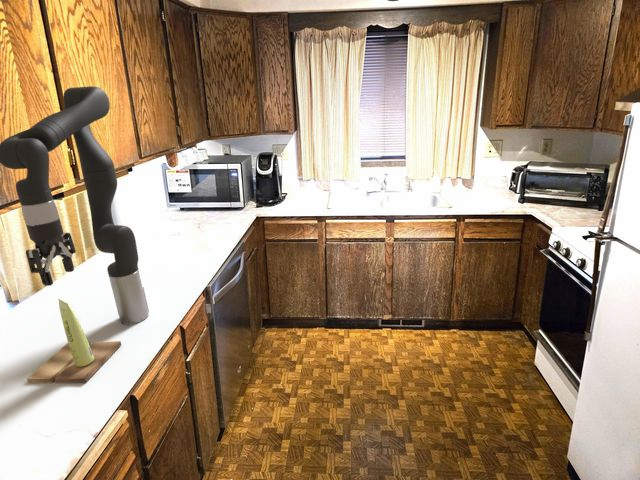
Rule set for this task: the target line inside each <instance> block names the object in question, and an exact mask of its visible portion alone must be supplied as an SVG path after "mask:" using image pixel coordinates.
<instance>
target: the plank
mask: <svg viewBox="0 0 640 480" xmlns="http://www.w3.org/2000/svg"><path fill="white" fill-rule="evenodd" d="M90 344H91V345H90V348H91V351H92V353H93V356H94V360H93V361H92V362H91V363H90V364H88V365H86V366H82V367H77V366H76V365H75V362H74V361H73V362H72V363H71V364H70V365H69V366H68V367H67V368H66V369H65V370H64V371H63V372H61V373H60V374H59V375H58V376H57V377H56V378H55V382H54V383H57V384H58V383H59V384H60V383H87V382H88V381H89V380H90V379H91V378H92V376H94V375H95V374H96V372H98V370H99V369H100V368H101V367H102V366H103V365H104V364H105V363H106V362H107V361H108V360H109V358H111V356H113V354H114V353H115V352H116V351H117V350H118V349H119V348H120V347H121V346H122V341H120V340H119V341H117V340H116V341H114V340H113V341H93V342H92V343H90Z"/></svg>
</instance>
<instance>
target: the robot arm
mask: <svg viewBox="0 0 640 480" xmlns="http://www.w3.org/2000/svg"><path fill="white" fill-rule="evenodd" d="M62 99H63V106H64V107H63V108H64V109H62V110H61V111H57V112H54V113H52V114H50V115H47V116H46V117H44V118H42V119H40V120H39V121H38V122H37V123H35V124H34V125H32V126H31V127H30V128H28V129H26V130H23V131H20V132H18V133H16V134H13V135H11V136H9V137H7V138H5V139H4V140H3V141H1V142H0V164H1V165H2V166H3V167H5V168H7V169H10V170H22V169H23V170H25V169H26V178H22V179H19V180H18V181H17V182H16V183H15V190H16V193H17V197H18V201H19V204H20V207H21V213H22V217H23V220H24V224H25V228H26V230H27V233H28V234H27V235H28V237H29V240H31V241H32V242H33V243H34V248H33V249H26V251H25V255H26V259H27V262H28V263H27V264H28V266H29V270H30V273H31V274H39V276H40V280H41V283H42V284H43V285H44V286H46V287H47V286H52V285H53V284H54V281H53V278H52V275H51V271H50V266H51V264H52V263H53V259H55V258H56V257H57V256H59V258H61V261H62V265H63V268H64V271H65V272H66V273H71V272H72V273H73V271H75V266H74V262H73V260H72V259H73V254H76V252H77V250H76V247H75V245H74V241H73V238H72V235H71V233H70V232H64V229H63V225H62V222H61V218H60V214H59V212H58V211H59V210H58V207H57V205H56V203H55V200H54V198H53V194H52V189H51V187H50V153H49V152H52V151H54V150H55V149H57V148H58V147H59V146H60V145H61V144H63V143H64V142H65V141H66V140H67V139H69V137H71V136H73V138H74V142H75V146H76V149H77V150H76V151H77V154H78V158H79V159H78V160H79V163H80V169H81V173H82V174H81V175H82V178H83V183H84V187H85V190H86V194H87V200H88V204H89V205H88V206H89V209H90V217H91V225H92V226H91V227H92V228H91V229H92V235H93V241H94V245H95V247H96V249H98V251H100V252H102V253H104V254H112V255H114V261H113V262H112V263H110V264H109V265H108V266H107V270H106V271H107V274H108V278H109V282H110V287H111V290H112V294H113V298H114V302H115V305H116V306H115V307H116V309H117V314H118V318H119V322H120V323H121V324H123V325H133V324H137V323H140V322H142V321H144V320H145V319H147V318H148V317H149V312H150V310H149V306H148V305H149V304H148V300H147V296H146V292H145V287H144V286H143V283H142V279H141V278H142V277H141V275H140V270H139V265H138V264H139V253H138V247H137V241H136V237H135V233H134V232H133V230H132V229H131V228H130V227H129V226H127V225H122V224H121V225H118V224H115V223H114V219H113V215H112V204H113V202H114V198H115V195H116V192H117V188H118V179H117V173H116V168H115V164H114V162H113V159H112V158H111V156H110V155H109V154H108V153H107V151H106V150H105V149H104V148H103V147H102V146H101V145H100V143H99V141H97V138H95V136H94V134H93V131H92V128H91V126H90V124H93V123H94V122H96V121H99V120H101V119H104V118H105V117H106V116H107V114H108V113H109V112H110V106H111V105H110V99H109V96H108V94H107V93H106V91H105V90H104V89H102V88H101V87H97V86H93V85H91V86H78V87H77V86H76V87H69V88H67V89H65V90H64V93H63V97H62Z"/></svg>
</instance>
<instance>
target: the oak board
mask: <svg viewBox="0 0 640 480" xmlns="http://www.w3.org/2000/svg"><path fill="white" fill-rule="evenodd" d="M88 343H89V346H90V345H91V344H92V343H91V342H90V341H88ZM73 361H74V359H73V356H72V353H71V350H70V347H69V344H68V342H67V343H66V344H65V345H64V346H62V347H61V348H60V349H59V350H57V352H56V353H55V354H53V355H52V357H50V358H49V359H48V360H47V361H45V362H44V363H43V364H42V365H41V366H40V367H39V368H38V369H36V370H35V371H34V372H33V373H32V374H30V375H29V376H28V377H27V378H26V380H27V383H38V384H39V383H43V384H44V383H45V384H47V383H49V384H52V383H56V382H55V378H56V377H57V376H58V375H59V374H60V373H61V372H63V371H64V370H65V369H66V368H67V367H68V366H69V365H70V364H71V363H72V362H73Z"/></svg>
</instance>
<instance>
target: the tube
mask: <svg viewBox="0 0 640 480" xmlns="http://www.w3.org/2000/svg"><path fill="white" fill-rule="evenodd" d="M58 307H59V310H60V311H59V312H60V316H61V321H62V325H63V329H64V333H65V337H66V339H67V343H68V344H69V347H70V350H71V353H72V356H73V359H74V362H75V365H76V366H77V367H82V366H86V365H88V364H90V363H91V362H92V361H93V360H94V356H93V353H92V351H91V348H90V346H89V343H88V342H89V341H88V339H87V336H86V333H85V332H84V330H83V327H82V325H81V323H80V321H79V320H78V317H77V315H76V314H75V311H73V309H72V308H71V306H70V305H69V303H68V302H66V301H64V300H62V299H60V298H58Z"/></svg>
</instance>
